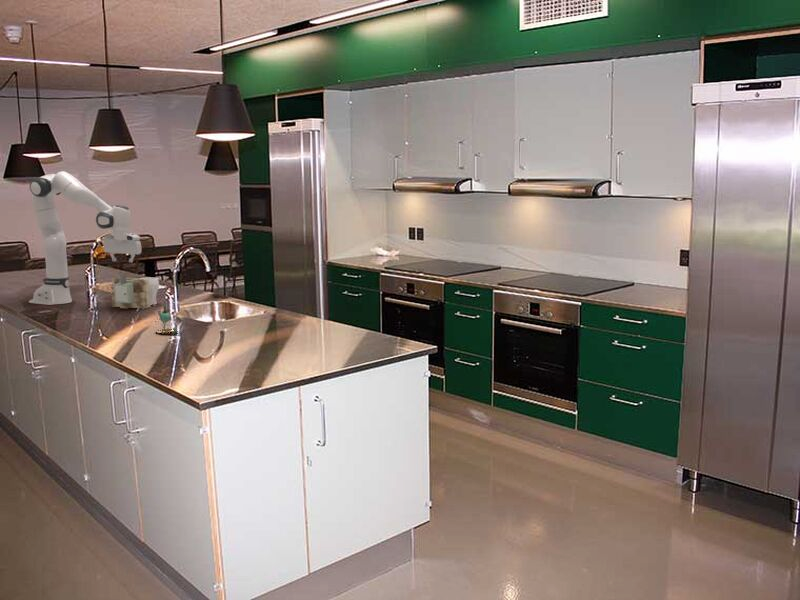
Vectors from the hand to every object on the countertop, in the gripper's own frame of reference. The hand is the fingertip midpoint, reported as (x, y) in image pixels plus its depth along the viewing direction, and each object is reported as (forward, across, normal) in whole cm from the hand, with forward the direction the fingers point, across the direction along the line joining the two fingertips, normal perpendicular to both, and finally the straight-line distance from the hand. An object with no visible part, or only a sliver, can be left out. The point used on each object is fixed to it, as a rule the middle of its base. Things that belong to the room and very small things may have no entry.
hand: (122, 261), depth 406 cm
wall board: (+26, +1, +8) cm, 27 cm away
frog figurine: (+26, +47, -48) cm, 72 cm away
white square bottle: (+22, 0, +1) cm, 22 cm away
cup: (+26, +7, +18) cm, 33 cm away
